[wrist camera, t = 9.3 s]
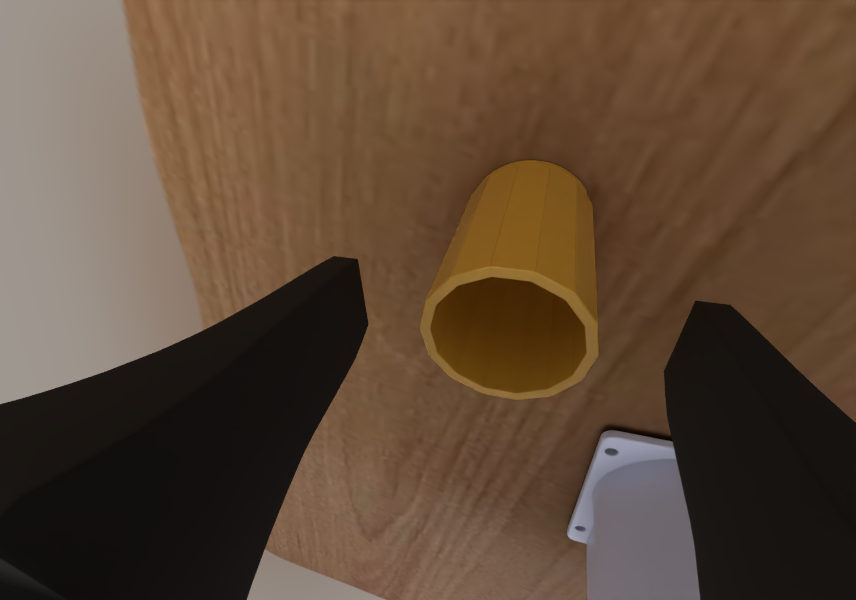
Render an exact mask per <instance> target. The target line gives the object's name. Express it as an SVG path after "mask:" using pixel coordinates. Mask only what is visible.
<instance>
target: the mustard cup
mask: <svg viewBox="0 0 856 600" xmlns="http://www.w3.org/2000/svg"><path fill="white" fill-rule="evenodd" d="M419 326H420V331H421V334H422V337H423V340H424V342H425V345H426V348H427V351H428V354H429V356H430V357H431V358H432V359H433V360H434V361H435V362H436V363H437V364H438V365H439V366H440V367H441V368H442V369H443V370H444V371H445V372H446V373H447V374H448V375H449V376H450V377H451V378H452V379H454V380H456V381H458V382H460V383H462V384H464V385H466V386H468V387H470V388H472V389H474V390H476V391H478V392H480V393H482V394H487V395H492V396H497V397H503V398H508V399H513V400H523V399H532V398H541V397H550V396H554V395H556V394H558V393H560V392H562V391H564V390H566V389H568V388H569V387H571V386H573V385H575V384H577V383H579V382H581V381H582V380H583V379H584V377H585V376H586V374H587V373H588V371H589V370H590V368H591V367H592V365H593V364H594V363H595V361H596V360H597V358H598V357H599V330H598V308H597V286H596V265H595V243H594V221H593V205H592V203H591V200H590V197H589V194H588V192H587V190H586V189H585V187H584V186H583V184H582V183H581V182H580V181H579V180H578V179H577V178H576V177H575V176H574V175H573V174H572V173H570V172H569V171H567V170H566V169H564V168H562V167H560V166H558V165H555V164H553V163H549V162H545V161H538V160H524V161H517V162H513V163H509V164H507V165H504V166H502V167H500V168H498V169H496V170H495V171H493V172H492V173H490V174H489V175H488V176H487V177H486V178H485V179H484V180H483V181H482V182H481V183H480V184H479V186H478V187H477V189H476V190H475V192H474V193H473V194H472V196H471V198H470V200H469V202H468V205H467V207H466V209H465V211H464V214H463V216H462V218H461V220H460V223H459V225H458V227H457V230H456V232H455V234H454V236H453V239H452V241H451V243H450V246H449V248H448V250H447V252H446V255H445V257H444V259H443V262H442V264H441V266H440V268H439V271H438V273H437V275H436V277H435V280H434V282H433V284H432V287H431V289H430V291H429V293H428V296H427V298H426V301H425V305H424V309H423V313H422V317H421V321H420V325H419Z"/></svg>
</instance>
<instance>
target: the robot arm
mask: <svg viewBox="0 0 856 600" xmlns="http://www.w3.org/2000/svg"><path fill="white" fill-rule="evenodd" d="M367 327H368V318H367V312H366V306H365V300H364V294H363V288H362V282H361V276H360V270H359V264H358V259H353V258H345V257H336V256H334V257H332V258H330V259H328V260H326V261H324V262H322V263H320V264H319V265H317V266H315V267H314V268H312V269H310V270H309V271H307V272H305V273H304V274H302V275H300V276H299V277H297V278H296V279H294V280H292V281H291V282H289V283H287V284H286V285H284V286H282V287H281V288H279V289H277V290H276V291H274V292H272V293H271V294H269V295H267V296H266V297H264V298H262V299H261V300H259V301H257V302H255V303H254V304H252V305H250V306H248V307H246V308H245V309H243V310H241V311H239V312H237V313H235V314H234V315H232V316H230V317H228V318H226V319H225V320H223V321H221V322H219V323H217V324H215V325H213V326H211V327H209V328H207V329H205V330H203V331H201V332H199V333H197V334H195V335H193V336H191V337H189V338H186V339H184V340H182V341H180V342H178V343H175V344H173V345H171V346H169V347H167V348H164V349H162V350H160V351H157V352H155V353H152V354H150V355H147V356H145V357H142V358H139V359H137V360H134V361H132V362H129V363H126V364H124V365H121V366H119V367H116V368H114V369H111V370H108V371H106V372H104V373H100V374H97V375H94V376H91V377H88V378H86V379H83V380H80V381H77V382H74V383H71V384H68V385H64V386H61V387H58V388H55V389H52V390H48V391H45V392H42V393H39V394H35V395H32V396H29V397H25V398H22V399H18V400H15V401H11V402H7V403H3V404H0V600H247V597H248V594H249V591H250V588H251V585H252V582H253V579H254V577H255V574H256V571H257V569H258V566H259V563H260V560H261V558H262V555H263V552H264V550H265V547H266V544H267V541H268V539H269V536H270V533H271V531H272V528H273V526H274V523H275V521H276V518H277V516H278V513H279V511H280V508H281V506H282V503H283V501H284V498H285V496H286V493H287V491H288V489H289V486H290V484H291V482H292V479H293V477H294V475H295V472H296V470H297V468H298V465H299V463H300V461H301V458H302V456H303V454H304V452H305V450H306V448H307V446H308V444H309V442H310V440H311V438H312V436H313V434H314V432H315V431H316V429H317V427H318V425H319V423H320V422H321V420H322V418H323V416H324V414H325V413H326V411H327V409H328V407H329V406H330V404H331V402H332V400H333V398H334V397H335V395H336V393H337V391H338V389H339V388H340V386H341V384H342V382H343V380H344V379H345V377H346V375H347V373H348V371H349V369H350V368H351V366H352V364H353V362H354V360H355V358H356V355H357V353H358V351H359V348H360V346H361V343H362V340H363V338H364V335H365V332H366V330H367ZM664 379H665V397H666V408H667V417H668V422H669V427H670V432H671V437H672V441H668V440H662V439H657V438H652V437H647V436H642V435H637V434H631V433H626V432H621V431H616V430H609V431H606V432H604V433H602V435H601V436H600V439H599V442H598V445H597V448H596V450H595V453H594V456H593V459H592V461H591V464H590V467H589V470H588V473H587V475H586V478H585V481H584V484H583V486H582V489H581V492H580V495H579V498H578V500H577V503H576V506H575V509H574V511H573V514H572V517H571V520H570V522H569V525H568V528H567V536H568V537H569V538H570V539H572V540H574V541H578V542H582V543H586V544H587V600H856V423H855V422H854V421H853V420H852V419H851V418H850V417H848V416H847V415H846V414H845V413H844V412H843V411H842V410H840V409H839V408H838V407H837V406H836V405H835V404H834V403H833V402H832V401H830V400H829V399H828V398H827V397H826V396H825V395H824V394H823V393H822V392H821V391H820V390H818V389H817V388H816V387H815V386H814V385H813V384H812V383H811V382H810V381H809V380H808V379H807V378H806V377H805V376H804V375H802V374H801V373H800V372H799V371H798V370H797V369H796V368H795V367H794V366H793V365H792V364H791V363H790V362H789V361H788V360H787V359H786V358H785V357H784V356H783V355H782V354H781V353H780V352H779V351H778V350H777V349H776V348H775V347H774V346H773V345H772V344H771V343H770V342H769V341H768V340H766V339H765V338H764V337H763V336H762V335H761V334H760V333H759V332H758V331H757V330H756V329H755V328H754V327H753V326H752V325H751V324H750V323H749V322H748V321H747V320H746V319H745V318H744V317H743V316H742V315H741V314H740V313H739V312H738V311H736V310H735V309H734V308H733V307H732V306H731V305H726V304H718V303H710V302H702V301H695V303H694V305H693V308H692V310H691V312H690V314H689V316H688V319H687V321H686V323H685V325H684V328H683V330H682V332H681V334H680V337H679V339H678V341H677V343H676V346H675V348H674V350H673V352H672V354H671V357H670V359H669V361H668V363H667V366H666V368H665V370H664Z"/></svg>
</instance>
